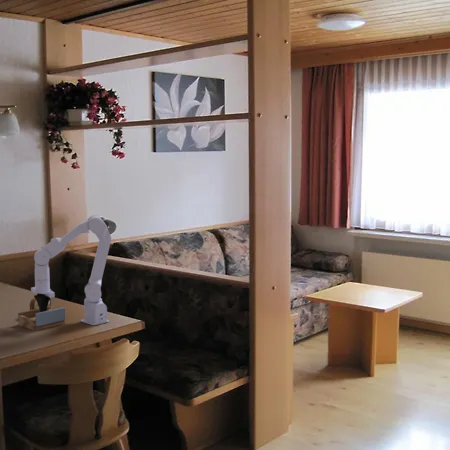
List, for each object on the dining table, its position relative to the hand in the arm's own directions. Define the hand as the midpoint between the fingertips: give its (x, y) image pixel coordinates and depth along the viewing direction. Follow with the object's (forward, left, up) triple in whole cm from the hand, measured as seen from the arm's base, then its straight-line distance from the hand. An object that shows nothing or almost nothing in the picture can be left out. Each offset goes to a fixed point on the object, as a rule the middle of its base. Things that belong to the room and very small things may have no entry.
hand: (43, 311), depth 254 cm
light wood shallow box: (+1, 0, -5) cm, 6 cm away
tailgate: (-5, 0, -3) cm, 6 cm away
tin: (+15, -8, -6) cm, 18 cm away
